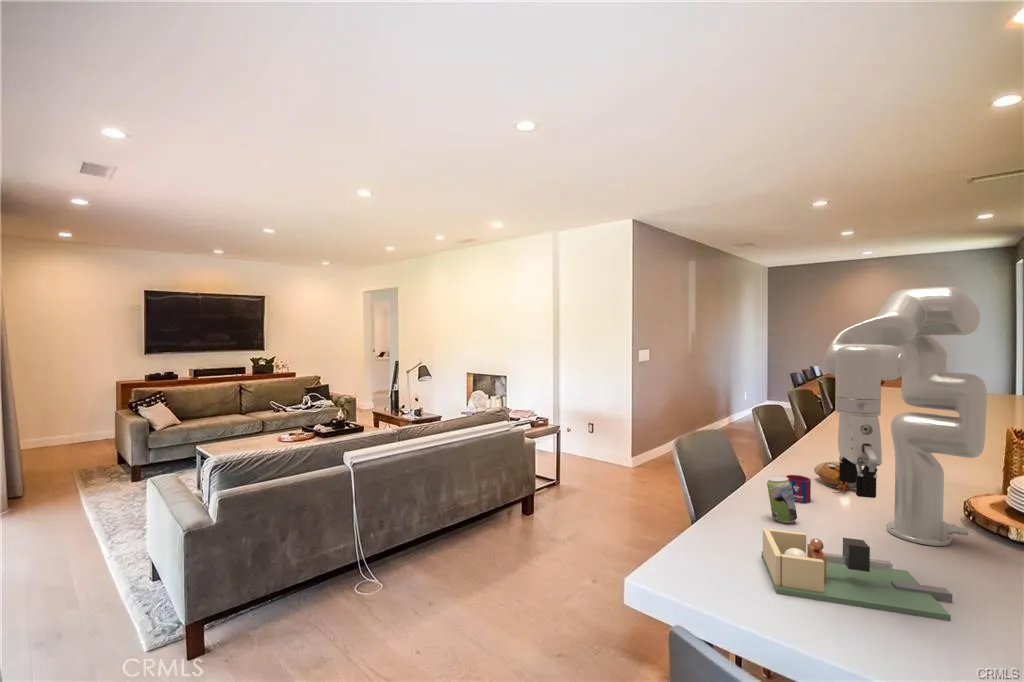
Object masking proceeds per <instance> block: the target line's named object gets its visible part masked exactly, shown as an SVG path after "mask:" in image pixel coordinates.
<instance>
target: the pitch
mask: <svg viewBox="0 0 1024 682" xmlns="http://www.w3.org/2000/svg"><path fill="white" fill-rule="evenodd" d="M790 548H797V549H800V550H802V551H804V552H805V553H806V554H807V534H806V533H805V532H799V531H791V530H784V529H775V528H765V527H762V551H761V558H762V560H763V563H764V565H765V568H766V571H767V572H768V573H767V574H768V575H769V577H770V580H771V583H772V585H773V588H774V591H775V593H776V594H778V595H784V596H792V597H796V598H797V597H799V598H805V599H811V600H817V601H821V602H822V601H823V602H829V603H830V602H831V603H836V604H843V605H847V606H848V605H849V606H856V607H861V608H869V609H874V610H880V611H886V612H893V613H900V614H907V615H912V616H918V617H924V618H925V617H926V618H929V619H930V618H931V619H937V620H944V621H952V620H951V618H952V617H951V616H952V615H951V614H950V613H949V612H948V611H947V610H946V609H945V608H944V606H942V605H941V604H940V603H939V602H940V601H941V602H946V603H947V602H948V603H953V593H951V592H950V590H948V588H946V587H940V586H933V585H926V584H921V583H920V582H919V581H918V580H916V578H915V577H914V576H913V575H912V574H911V573H910V572H909V571H908V570H904V569H898V568H897V569H896V568H892V571H886V570H879V569H871V568H870V572H866V571H858V570H851V569H848V568H847V566H846V565H842V564H834V563H827V567H826V581H825V580H824V561H823V560H822V559H814V558H807V557H799V556H792V555H784V553H785V551H786V550H788V549H790Z"/></svg>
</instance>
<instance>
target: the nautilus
mask: <svg viewBox="0 0 1024 682" xmlns="http://www.w3.org/2000/svg"><path fill="white" fill-rule="evenodd" d="M839 462H840V461H828V462H822V463H819V464H817V465H816V466H815V467H814V472H815V474H816V475H817V476H818V477H820V478H821V480H823V482H824V483H826V484H829V485H836V487H835V489H837V490H836V491H835V492H834V491H832V493H833V494H834V493H843V494H845V491H848V490H856V483H853V482H842V481H840V480H839ZM840 463H843V462H840ZM841 489H842V490H841ZM840 490H841V491H840Z"/></svg>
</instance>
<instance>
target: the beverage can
mask: <svg viewBox="0 0 1024 682" xmlns="http://www.w3.org/2000/svg"><path fill="white" fill-rule="evenodd" d="M766 482H767V483H766V486H767V492H768V499H769V503H770V509H771V515H772V516H771V517H772V518H773V520H776V521H777V522H780V523H786V524H787V523H793V522H795V521H796V520H797V519H798V514H797V513H798V512H797V508H796V502H795V501H794V495H793V489H792V484H791V482H790V481H789V480H788V478H787V477H786V476H783V475H775V476H774V475H773V476H769V477H768V480H767V481H766Z"/></svg>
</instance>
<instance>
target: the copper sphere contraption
mask: <svg viewBox="0 0 1024 682" xmlns="http://www.w3.org/2000/svg"><path fill="white" fill-rule="evenodd" d="M823 550H824V543H823V542H822V540H821V539H819V538H813V539H811V540H810V543H806V554H807V556H808V557H809V558H814V559H822V560H823V561H824V580H825V581H826V567H827V563H834V564H842V565H846V566H847V568H848V569H851V570H858V571H866V572H870V568H871V569H879V570H886V571H892V569H893V563H892V562H891V561H888V560H884V559H875V558H871V551H870V550H871V546H869V545H868V543H867V542H866V541H865V540H864V539H858V538H850V537H848V538H847V537H842V554H837V553H830V552H829V553H828V552H827V553H826V552H824V551H823Z"/></svg>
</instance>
